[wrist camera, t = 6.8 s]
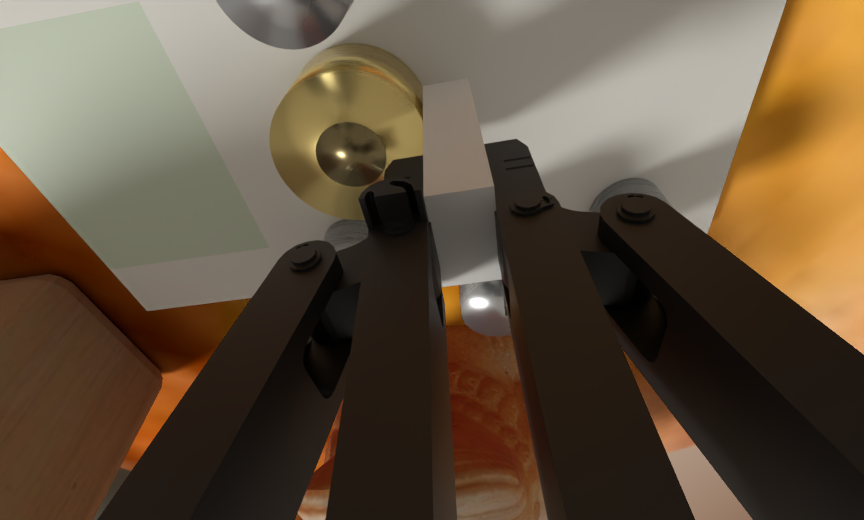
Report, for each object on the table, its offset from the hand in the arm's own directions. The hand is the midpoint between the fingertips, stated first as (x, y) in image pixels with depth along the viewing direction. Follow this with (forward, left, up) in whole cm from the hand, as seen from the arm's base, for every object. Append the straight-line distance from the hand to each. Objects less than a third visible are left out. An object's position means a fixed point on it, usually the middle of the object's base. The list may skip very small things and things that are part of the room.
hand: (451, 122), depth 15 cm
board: (0, -3, -2) cm, 4 cm away
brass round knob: (0, -3, -1) cm, 3 cm away
